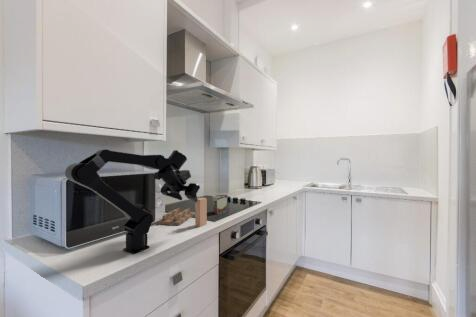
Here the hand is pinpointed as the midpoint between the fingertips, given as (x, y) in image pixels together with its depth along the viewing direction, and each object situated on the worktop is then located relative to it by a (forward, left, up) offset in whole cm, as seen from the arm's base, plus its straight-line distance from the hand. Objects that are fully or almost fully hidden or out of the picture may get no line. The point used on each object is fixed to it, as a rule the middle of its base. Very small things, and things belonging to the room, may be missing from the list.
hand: (189, 200), depth 101 cm
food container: (+34, +8, -14) cm, 38 cm away
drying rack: (+10, +18, -14) cm, 25 cm away
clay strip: (+8, 0, -14) cm, 16 cm away
